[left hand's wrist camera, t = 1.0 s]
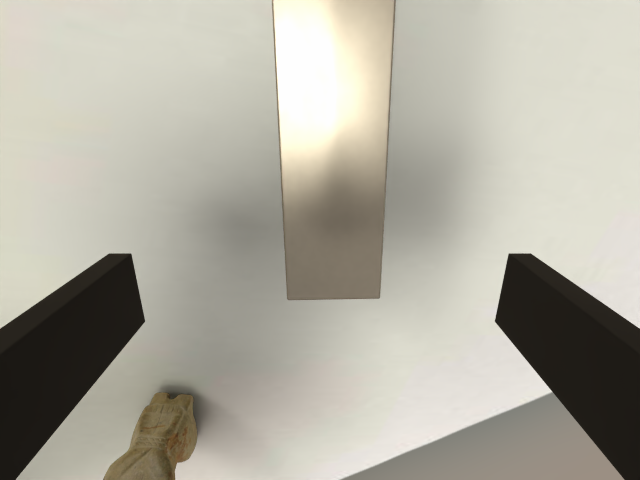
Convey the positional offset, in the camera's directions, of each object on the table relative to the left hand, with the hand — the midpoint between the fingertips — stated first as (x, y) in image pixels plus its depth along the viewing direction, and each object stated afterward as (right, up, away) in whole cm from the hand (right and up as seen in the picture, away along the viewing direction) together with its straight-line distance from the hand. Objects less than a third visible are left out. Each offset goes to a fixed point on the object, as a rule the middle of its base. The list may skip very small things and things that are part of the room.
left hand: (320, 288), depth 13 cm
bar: (0, +12, +12) cm, 17 cm away
